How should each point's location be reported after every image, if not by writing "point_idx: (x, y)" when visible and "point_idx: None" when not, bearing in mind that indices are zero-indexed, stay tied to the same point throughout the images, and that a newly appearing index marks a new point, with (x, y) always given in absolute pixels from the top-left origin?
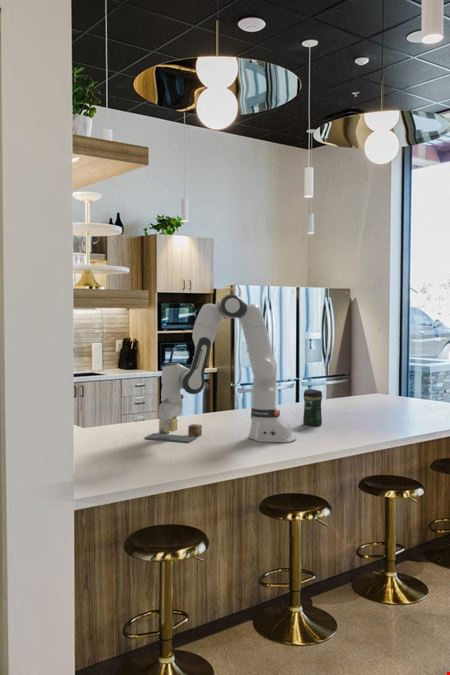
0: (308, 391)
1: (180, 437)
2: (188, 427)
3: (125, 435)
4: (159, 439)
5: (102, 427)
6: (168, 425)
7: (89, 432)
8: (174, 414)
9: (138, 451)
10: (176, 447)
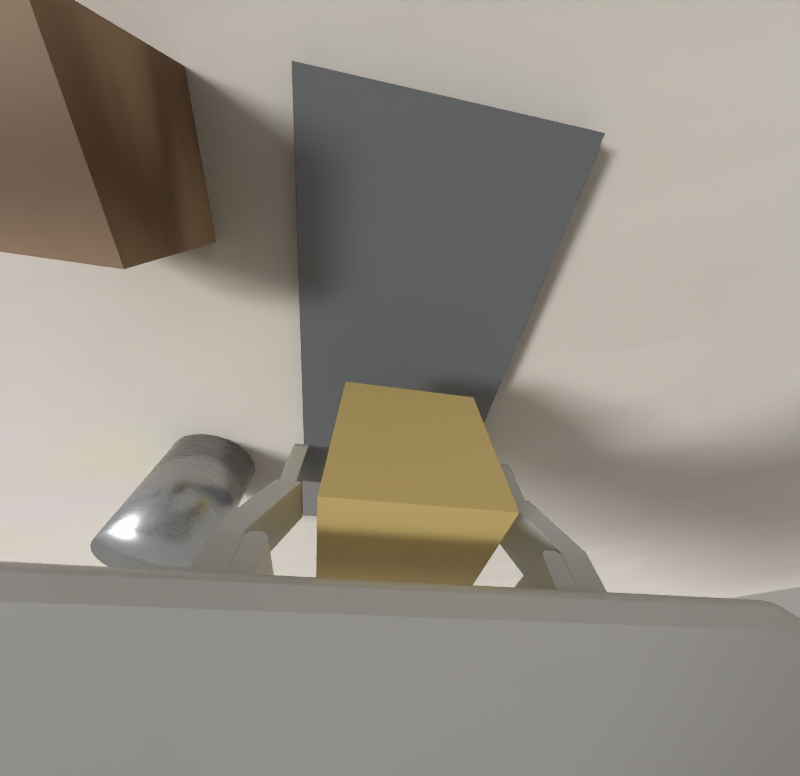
0: None
1: (396, 300)
2: (140, 261)
3: None
4: None
5: None
6: (518, 493)
7: None
8: (406, 644)
9: (785, 466)
10: (788, 244)
